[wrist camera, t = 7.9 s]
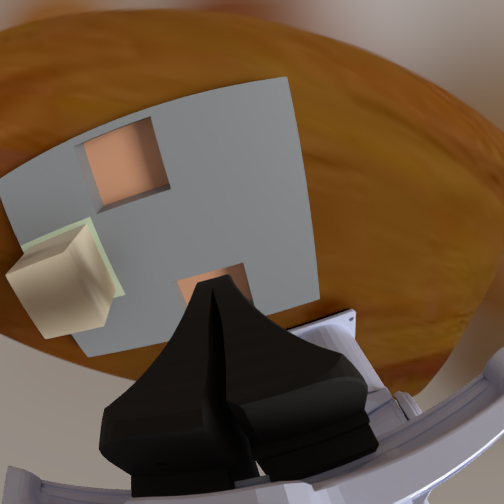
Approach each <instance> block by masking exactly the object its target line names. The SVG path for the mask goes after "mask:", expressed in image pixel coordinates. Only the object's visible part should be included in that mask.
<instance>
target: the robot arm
mask: <svg viewBox="0 0 504 504" xmlns="http://www.w3.org/2000/svg"><path fill="white" fill-rule="evenodd" d="M355 322H356V312H355V311H354V310H353V309H350V310H347V311H344V312H341V313H338V314H336V315H333V316H330V317H327V318H324V319H321V320H318V321H315V322H312V323H309V324H306V325H303V326H300V327H297V328H293V329H290V330H285V329H283V328H282V327H280V326H279V325H277V324H276V323H274V322H273V321H272V320H270V319H269V318H268V317H266V316H265V315H264V314H263V313H261V312H260V311H259V310H258V309H257V308H256V307H255V306H254V305H253V304H252V303H251V302H250V301H249V300H248V299H247V298H246V297H245V296H244V295H243V294H242V293H241V291H240V290H239V289H238V287H237V286H236V285H235V283H234V281H233V280H232V277H231V276H230V275H228V274H226V275H223V276H219V277H215V278H212V279H208V280H205V281H201V282H197V284H196V286H195V288H194V291H193V293H192V296H191V298H190V301H189V303H188V305H187V308H186V310H185V312H184V314H183V316H182V318H181V320H180V322H179V324H178V326H177V328H176V330H175V332H174V333H173V335H172V337H171V338H170V340H169V342H168V343H167V345H166V346H165V348H164V349H163V351H162V352H161V353H160V355H159V356H158V357H157V358H156V360H155V361H154V362H153V363H152V364H151V366H150V367H149V368H148V369H147V371H146V372H145V373H144V374H143V375H142V376H141V377H140V378H139V379H138V380H137V381H136V382H135V383H134V384H133V385H132V386H131V387H130V388H129V389H128V390H127V391H126V392H125V393H123V394H122V395H121V396H120V397H119V398H117V399H116V400H115V401H114V402H112V403H111V404H110V405H109V406H107V407H106V408H105V409H104V413H103V418H102V425H101V433H100V442H99V450H100V452H101V454H102V455H103V456H104V457H105V458H106V459H107V460H108V461H110V462H111V463H113V464H114V465H116V466H117V467H119V468H120V469H122V470H123V471H125V472H126V473H128V474H130V475H131V490H119V489H102V488H91V487H82V486H74V485H67V484H61V483H55V482H50V481H45V480H41V479H40V478H39V477H37V476H36V475H34V474H33V473H31V472H29V471H26V470H24V469H20V468H15V467H12V466H8V468H7V473H6V479H5V485H4V491H3V498H2V504H429V502H428V500H427V497H428V495H429V494H430V492H431V490H432V489H434V488H435V487H437V486H438V485H440V484H441V483H443V482H444V481H446V480H447V479H449V478H450V477H452V476H453V475H454V474H456V473H457V472H459V471H460V470H461V469H463V468H464V467H465V466H467V465H468V464H469V463H471V462H472V461H473V460H474V459H476V458H477V457H478V456H479V455H481V454H482V453H483V452H484V451H485V450H487V449H488V448H489V447H490V446H491V445H492V444H494V443H495V442H496V441H497V440H498V439H499V438H500V437H501V436H502V435H503V434H504V346H503V347H502V348H501V349H500V350H499V351H497V352H496V353H495V354H494V355H493V356H492V357H491V358H490V359H489V361H488V362H487V364H486V365H485V367H484V369H483V372H482V373H481V374H480V375H479V376H477V377H476V378H475V379H473V380H472V381H471V382H469V383H468V384H466V385H465V386H464V387H462V388H461V389H459V390H458V391H456V392H455V393H454V394H452V395H451V396H449V397H448V398H446V399H445V400H443V401H441V402H440V403H438V404H437V405H435V406H433V407H432V408H430V409H428V410H427V411H425V412H423V413H422V411H421V410H420V408H419V407H418V405H417V404H416V402H415V401H414V399H413V398H412V397H411V395H410V394H409V393H406V392H401V391H397V392H396V393H395V394H394V397H395V399H396V400H397V402H398V403H399V407H400V408H399V407H398V405H397V403H396V402H395V400H394V399H393V397H392V395H391V394H390V392H389V391H388V389H387V387H385V386H384V385H383V383H382V382H381V380H380V378H379V377H378V375H377V374H376V372H375V371H374V369H373V367H372V366H371V364H370V363H369V361H368V360H367V358H366V356H365V355H364V353H363V352H362V350H361V349H360V347H359V346H358V344H357V342H356V341H355ZM400 409H401V410H402V411H401V410H400ZM402 412H403V413H402ZM403 414H404V415H403ZM255 461H257V463H258V464H259V465H260V467H261V468H262V470H263V471H264V473H265V474H266V475H265V476H260V475H259V472H258V468H257V465H256V462H255Z"/></svg>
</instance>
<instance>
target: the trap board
mask: <svg viewBox="0 0 504 504" xmlns="http://www.w3.org/2000/svg"><path fill="white" fill-rule="evenodd" d="M0 197H1V200H2V203H3V206H4V208H5V211H6V213H7V216H8V218H9V221H10V223H11V226H12V228H13V230H14V233H15V235H16V237H17V239H18V242H19V244H20V246H21V248H22V250H23V252H24V254H25V253H26V252H27V251H28V249H29V248H30V247H31V246H33V245H35V244H37V243H40V242H42V241H44V240H47V239H49V238H52V237H54V236H56V235H59V234H61V233H64V232H66V231H69V230H72V229H74V228H77V227H79V226H82V225H85V224H87V225H88V228H89V230H90V233H91V235H92V237H93V240H94V242H95V244H96V246H97V249H98V251H99V253H100V255H101V257H102V260H103V262H104V264H105V266H106V268H107V270H108V272H109V274H110V276H111V278H112V280H113V282H114V284H115V286H116V288H117V289H116V292H115V295H114V298H113V301H112V304H111V307H110V310H109V313H108V316H107V319H106V322H105V325H104V326H103V327H99V328H95V329H90V330H86V331H81V332H77V333H72V334H71V335H72V336H73V337H74V339H75V340H76V342H77V343H78V345H79V346H80V347H81V349H82V350H83V351H84V353H85V354H86V355H87V357H92V356H98V355H103V354H109V353H114V352H119V351H124V350H129V349H134V348H139V347H143V346H148V345H153V344H157V343H162V342H166V341H169V340H170V338H171V337H172V335H173V333H174V332H175V330H176V328H177V326H178V324H179V322H180V320H181V318H182V316H183V314H184V312H185V310H186V308H187V305H188V303H189V301H190V298H191V296H192V293H193V291H194V288H195V286H196V284H197V282H201V281H205V280H208V279H212V278H215V277H219V276H223V275H226V274H228V275H230V276H231V277H232V280H233V281H234V283H235V285H236V286H237V287H238V289H239V290H240V291H241V293H242V294H243V295H244V296H245V297H246V298H247V299H248V300H249V301H250V302H251V303H252V304H253V305H254V306H255V307H256V308H257V309H258V310H259V311H260V312H261V313H263V314H264V315H265V316H266V315H270V314H273V313H276V312H280V311H283V310H286V309H290V308H293V307H296V306H299V305H302V304H306V303H309V302H312V301H315V300H318V299H320V296H319V284H318V274H317V264H316V255H315V246H314V237H313V229H312V221H311V213H310V206H309V199H308V191H307V185H306V178H305V172H304V165H303V159H302V153H301V147H300V141H299V136H298V130H297V124H296V119H295V114H294V109H293V104H292V99H291V94H290V89H289V84H288V79H287V77H280V78H273V79H267V80H260V81H254V82H249V83H243V84H238V85H233V86H228V87H223V88H219V89H214V90H210V91H206V92H202V93H198V94H194V95H190V96H186V97H183V98H179V99H176V100H172V101H169V102H166V103H162V104H159V105H156V106H153V107H150V108H147V109H144V110H141V111H138V112H135V113H133V114H130V115H127V116H124V117H122V118H119V119H116V120H114V121H111V122H109V123H106V124H104V125H102V126H99V127H97V128H94V129H92V130H90V131H88V132H85V133H83V134H81V135H79V136H76V137H74V138H72V139H70V140H68V141H66V142H64V143H62V144H60V145H58V146H56V147H54V148H52V149H50V150H48V151H46V152H44V153H43V154H41V155H39V156H37V157H35V158H33V159H32V160H30V161H28V162H26V163H25V164H23V165H21V166H20V167H18V168H16V169H15V170H13V171H11V172H10V173H8V174H7V175H5V176H3V177H2V178H0Z"/></svg>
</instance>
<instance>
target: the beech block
mask: <svg viewBox="0 0 504 504" xmlns="http://www.w3.org/2000/svg"><path fill="white" fill-rule="evenodd" d="M5 276H6V277H7V279H8V281H9V283H10V285H11V286H12V288H13V290H14V292H15V293H16V295H17V297H18V299H19V300H20V302H21V303H22V305H23V307H24V308H25V310H26V311H27V313H28V315H29V316H30V318H31V319H32V321H33V322H34V324H35V325H36V327H37V328H38V329H39V331H40V332H41V334H42V335H43V337H44V338H45V339H48V338H53V337H58V336H63V335H67V334H72V333H77V332H81V331H86V330H90V329H95V328H99V327H103V326H104V325H105V322H106V319H107V316H108V313H109V310H110V307H111V304H112V301H113V298H114V295H115V292H116V289H117V288H116V286H115V284H114V282H113V280H112V278H111V276H110V274H109V272H108V270H107V268H106V266H105V264H104V262H103V260H102V257H101V255H100V253H99V251H98V249H97V246H96V244H95V242H94V240H93V237H92V235H91V233H90V230H89V228H88V225H87V224H85V225H82V226H79V227H77V228H74V229H72V230H69V231H66V232H64V233H61V234H59V235H56V236H54V237H52V238H49V239H47V240H44V241H42V242H40V243H37V244H35V245H33V246H31V247H30V248H29V249H28V251H27V252H26V253H25V254H24V255H23V256H22V257H21V258H20V259H19V260H18V261H17V262H16V264H15V265H14V266H13V267H12V268H11V269H10V270H9V272H8V273H7V274H6V275H5Z"/></svg>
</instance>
